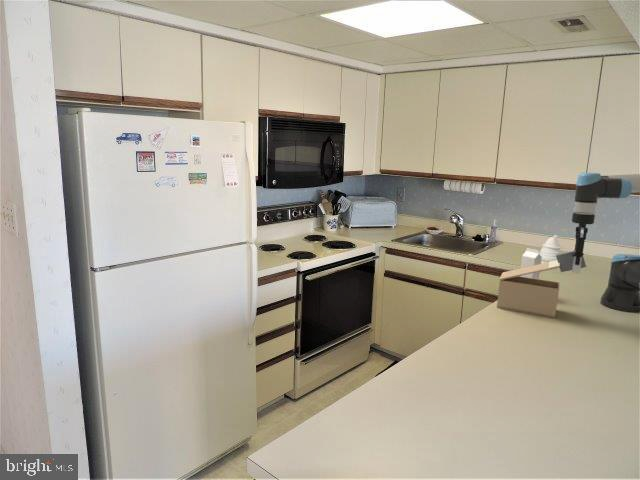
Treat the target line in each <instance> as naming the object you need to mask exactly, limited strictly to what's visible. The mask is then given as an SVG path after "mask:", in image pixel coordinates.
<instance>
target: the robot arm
mask: <svg viewBox="0 0 640 480" xmlns="http://www.w3.org/2000/svg"><path fill="white" fill-rule="evenodd" d="M575 185H576V187H575V195H574V203H572V204H571V206H572V207H573V211H572V212H573V213H572V217H571V222H572V223H573V224H578V226H575V245H574V250H573V251H575V254H574V255H573V256H574V261H573V268H572V270H571V272H572V273H576V274H581V269H582V268H581V261H582V256H583V257H584V254H585V253H584V248H585V241H586V239H587V234H588V230H589V228H588V227H587V225H593V224H594V223H595V219H596V215H595V214H596V212H597V207H598V199H618V200H619V199H626V198H628V197H629V196H630V195H631V193H640V173H634V174H632V173H629V174H611V175H609V174H607V175H601V173H599V172H580V173H578V175H577V180H576V183H575ZM610 265H611V266H610V271H609V277H608V284H607V287H606V289H605V290H604V292H603V293H602V295H601V297H600V304H602V306H604V307H607V308H609V309H613V310H616V311H622V312H630V313H632V312H633V313H636V312H640V255H639V254H628V253H627V254H626V253H616V254H614V255H612V260H611V262H610Z"/></svg>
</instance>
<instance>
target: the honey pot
mask: <svg viewBox="0 0 640 480" xmlns="http://www.w3.org/2000/svg"><path fill="white" fill-rule="evenodd" d="M558 238H559V235H555V234H554V235H553V236H551V237H549V238H548V239H547V240H546V241H545V242H544V243H543V244H542V245H541V246H542V247H541V249H540V250H539V254H540V255H541V256H542V259H541V264H543V263H548V262H551V261H555V260H557V258H556V255H557V254H561V253H562V252H561V249H562V245H560V244H559V242H558ZM558 269H560V267H559V268H558Z"/></svg>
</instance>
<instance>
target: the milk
mask: <svg viewBox="0 0 640 480" xmlns="http://www.w3.org/2000/svg"><path fill="white" fill-rule="evenodd" d="M539 252H540V250H538V249H534V248H529V247H527V248H526V250H525V252H523V254H522V256H521V263H520V269H521V268H525V267H530V266H534V265H539V264H541V259H542V256H541V255H540V254H539ZM520 277H526V278H533V279H540V272H536V273H532V274H527V275H522V276H520Z"/></svg>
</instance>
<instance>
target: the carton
mask: <svg viewBox="0 0 640 480" xmlns="http://www.w3.org/2000/svg"><path fill="white" fill-rule="evenodd" d="M559 292H560V282H559V281H551V280H546V279H545V280H544V279H540V278H539V279H533V278H526V277H520V276H518V277H513V278H508V279H503V280H500V279H499V285H498V294H497V303H496V308H497V309H503V310H507V311H508V310H510V311H514V312H520V313H525V314H530V313H531V314H530V315H536V314H537V316H541V315H542V316H543V317H548V318H551V319H553V318H554V319H556V314H557V313H556V312H557V306H558V301H559V300H558V299H559Z"/></svg>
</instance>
